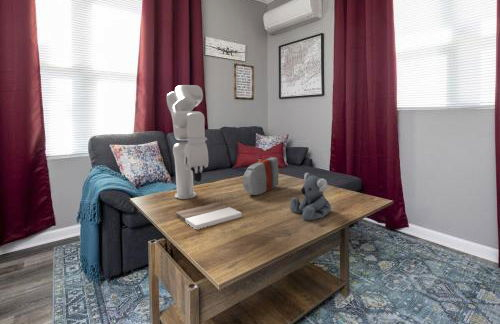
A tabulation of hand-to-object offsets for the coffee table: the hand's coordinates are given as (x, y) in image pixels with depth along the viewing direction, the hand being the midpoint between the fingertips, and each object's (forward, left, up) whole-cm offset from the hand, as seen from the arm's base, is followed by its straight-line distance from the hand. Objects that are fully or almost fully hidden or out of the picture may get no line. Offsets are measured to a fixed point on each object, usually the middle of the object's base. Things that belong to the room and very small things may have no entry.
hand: (197, 180), depth 132 cm
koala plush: (+30, +45, -18) cm, 57 cm away
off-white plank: (+6, +4, -18) cm, 19 cm away
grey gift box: (-14, +50, -18) cm, 55 cm away
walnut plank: (-4, +4, -18) cm, 19 cm away
